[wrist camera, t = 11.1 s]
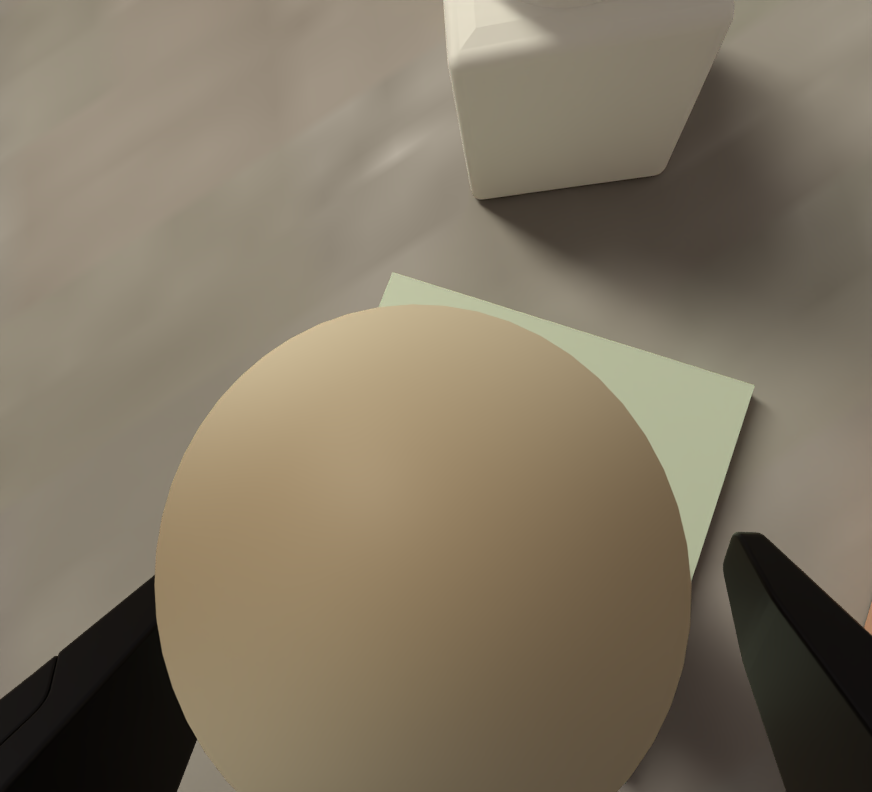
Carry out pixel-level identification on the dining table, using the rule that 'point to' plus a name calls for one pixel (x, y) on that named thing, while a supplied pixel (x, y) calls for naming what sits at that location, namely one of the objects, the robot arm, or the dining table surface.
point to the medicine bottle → (576, 86)
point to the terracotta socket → (869, 621)
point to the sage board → (639, 401)
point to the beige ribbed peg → (422, 566)
